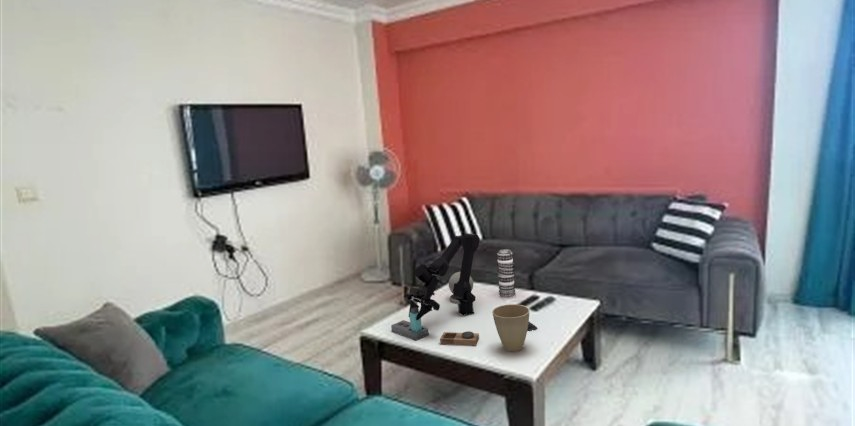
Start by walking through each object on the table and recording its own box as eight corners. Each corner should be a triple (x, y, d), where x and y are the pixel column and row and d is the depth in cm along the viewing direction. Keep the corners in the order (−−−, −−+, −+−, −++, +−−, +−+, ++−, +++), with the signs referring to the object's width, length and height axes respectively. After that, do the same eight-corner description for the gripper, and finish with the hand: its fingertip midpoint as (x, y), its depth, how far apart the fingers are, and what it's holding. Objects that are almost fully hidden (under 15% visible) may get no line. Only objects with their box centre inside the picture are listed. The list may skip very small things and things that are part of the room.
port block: (404, 326, 240) (403, 319, 240) (428, 334, 228) (428, 328, 227) (391, 331, 235) (391, 324, 235) (416, 340, 223) (415, 333, 222)
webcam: (475, 295, 274) (474, 268, 271) (472, 303, 261) (470, 275, 259) (452, 295, 277) (450, 268, 274) (447, 303, 264) (445, 276, 262)
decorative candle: (494, 297, 268) (491, 251, 263) (506, 292, 274) (503, 247, 269) (508, 300, 261) (505, 253, 257) (519, 295, 267) (517, 249, 263)
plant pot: (523, 337, 216) (521, 302, 213) (537, 352, 202) (535, 314, 199) (490, 343, 214) (487, 307, 211) (501, 358, 199) (498, 319, 197)
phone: (522, 331, 221) (506, 319, 235) (522, 333, 221) (506, 321, 235) (538, 327, 223) (522, 316, 237) (538, 330, 223) (522, 318, 238)
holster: (444, 337, 223) (443, 329, 223) (479, 338, 219) (478, 330, 218) (440, 344, 217) (439, 336, 216) (476, 346, 212) (475, 337, 212)
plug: (417, 333, 230) (414, 306, 228) (422, 335, 228) (420, 308, 225) (411, 335, 228) (408, 308, 225) (416, 338, 226) (414, 310, 223)
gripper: (404, 275, 233) (388, 306, 228) (432, 282, 220) (416, 314, 214) (418, 287, 240) (403, 317, 234) (447, 294, 226) (431, 326, 221)
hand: (413, 318), depth 226 cm, fingers open, 5 cm apart
